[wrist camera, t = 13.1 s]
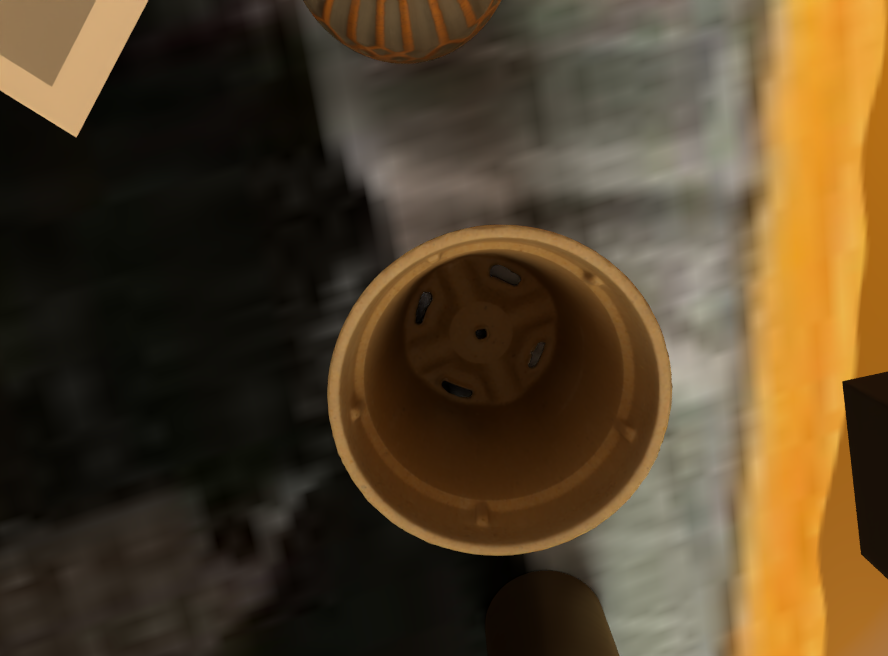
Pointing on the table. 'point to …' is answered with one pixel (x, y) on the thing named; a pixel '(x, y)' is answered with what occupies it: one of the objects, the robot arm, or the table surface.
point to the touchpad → (62, 53)
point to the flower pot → (500, 391)
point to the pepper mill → (547, 618)
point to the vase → (403, 26)
